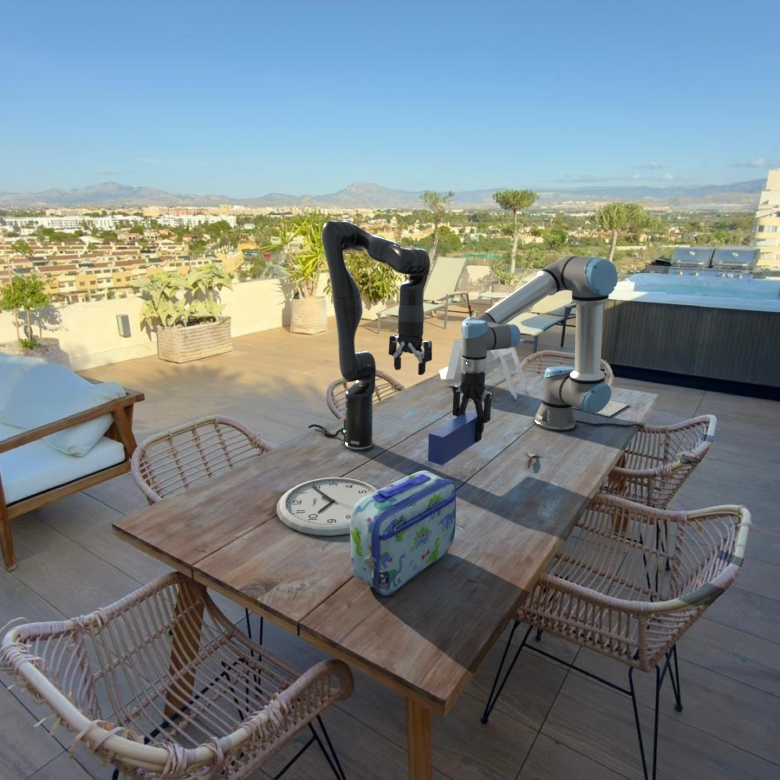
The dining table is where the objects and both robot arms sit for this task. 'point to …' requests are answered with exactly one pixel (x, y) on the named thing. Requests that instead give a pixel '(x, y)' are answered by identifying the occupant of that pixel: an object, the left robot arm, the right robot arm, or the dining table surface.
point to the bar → (452, 438)
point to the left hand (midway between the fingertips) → (409, 372)
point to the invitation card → (611, 408)
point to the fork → (531, 456)
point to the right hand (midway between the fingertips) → (469, 438)
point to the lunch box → (402, 530)
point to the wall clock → (322, 505)
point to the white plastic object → (492, 362)
